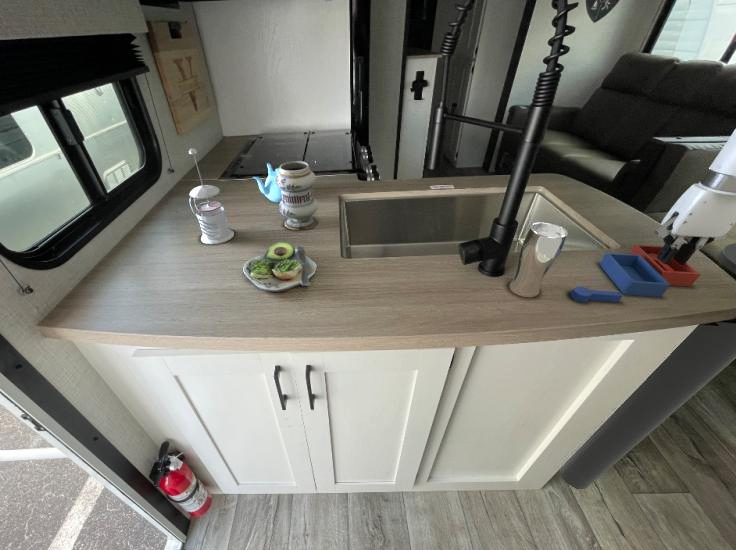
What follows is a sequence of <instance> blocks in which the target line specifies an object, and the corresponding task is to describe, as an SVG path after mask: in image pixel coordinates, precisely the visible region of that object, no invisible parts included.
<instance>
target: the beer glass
mask: <svg viewBox="0 0 736 550" xmlns="http://www.w3.org/2000/svg"><path fill="white" fill-rule="evenodd" d="M568 235H569V233H568V230H567V229H566V228H564V227H563V226H561V225H558V224H555V223H551V222H541V221H540V222H534V223H533V224H531V226H530V227H529V229H528V232H527V234H526V236H525V238H524V240H523V242H522V246H521V249H520V252H519V257H518V264H517V270H516V273H515V275H514V277H513V279H512V280H511V281H510V283H509V285H508V286H509V289H510V291H511V292H512V293H513V294H515V295H517V296H520V297H524V298H535V297H537V296H538V295H539V293H540V289H541V286H542V285H541V284H542V282H543V280H544V278H545V277H546V276H547V274H548V272H549V271H550V270H551V269H552V267H553V266H554V264H555V263H556V261H557V260H558V258H559V256H560V254H561V253H562V250H563V248H564V245H565V242H566V239H567V237H568Z"/></svg>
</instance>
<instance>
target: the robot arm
mask: <svg viewBox="0 0 736 550" xmlns="http://www.w3.org/2000/svg"><path fill="white" fill-rule="evenodd" d="M735 224H736V128H735V129H734V130H733V131H732V133H731V135H730V136H729V138H728V140H726V141H725V143H724V146H722V148H721V149H720V151H719V153H718V154H717V156H716V157H715V159H714V160H713V161H712V163H711V164H710V166H709V167H708V169H707V170H706V172H705V173H704V175H703V176H702V178H701V179H700V181H699V182H698V183H693V184H691V185H690V187H689V188H687V189H686V190H685V191H684V192H683V194H681V196H679V198H678V199H677V200H676V202H675V203H674V204H673V205H672V206H671V208H670V210H668V212H667V213H666V214H665V216H664V218H663V219H662V220H661V222H660V226H659V227H657V229H656V230H655V231H654V234H656V235H657V236H658V237H659V238H662V240H663V243H664V245H662V246H663V248H662V249H661V250H660V252H659V253H658V255H657V258H658V259H659V260H660V261H661V262H662V263H663V264H668V263H669V262H670V260H671V259H672V258H673V259H674V260H675V261H677V262H678V263H679V264H680V265H685V264H686V262H687V263H688V261H689V260H690V259H691V257H692V256H693V255H694V253H695V252H696V251H700V250H702V249H703V247H704V246H706V245H709V244H711V243H713V242H716V241H721V240H724V239H726V238H727V235H728V232H729V231H730V230H731V229H732V228H733V227H734V225H735ZM686 237H689V239H688V240H687V242H683V243H682V241H683V240H684V239H685V238H686ZM681 243H682V244H681ZM680 244H681V245H680ZM679 245H680V247H679V248H677V247H678V246H679Z"/></svg>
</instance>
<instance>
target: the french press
mask: <svg viewBox="0 0 736 550" xmlns="http://www.w3.org/2000/svg"><path fill="white" fill-rule="evenodd" d="M197 153H198V151H197V149H195V148H194V147H193V148H190V149H189V150H188V154H189V155H193V158H194V162H195V165H196V168H197V173H198V176H199V179H200V183H201V185H199V186H197V187H194V188H193V189H192V190H191V191H190V192H189V196H190V197H189V205H190V210H191V211H192V213H193V215H194V216H195V217H196V218H197V220H198V223H199V226H200V230H201V233H202V236H201V238H200V240H201V242H202V243H204V244H206V245H218V244H222V243H226V242H227V241H229V240H231V239H232V238H233V237H234V235H235V233H234V231H233V230H232V229H230V225H229V221H228V219H227V214H226V211H225V208H224V206H222V204H223V203H221V201H218V200H208V199H210V198H212V197H213V198H214V197H216V196H217V195H219V194H220V192H221V189H220V188H219V187H217V186H216V185H211V184H204V183H203V179H202V177H201V173H200V170H199V166H198V163H197V159H196V154H197ZM192 198H193V203H194V207H195V210H196V212H195V211H194V209H193V206H192V204H191V201H192ZM201 199H202V200H203V199H206V201H203V202H200V203H198V204H196V201H198V200H201Z"/></svg>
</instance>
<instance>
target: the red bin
mask: <svg viewBox="0 0 736 550" xmlns="http://www.w3.org/2000/svg"><path fill="white" fill-rule="evenodd" d="M663 246H664V245H649V244H647V245H646V244H634V245H633V247H632V248H631V250H630V252H629V253H628V254H636V255H640V256H641V257H642V258H643V259H644V260H645V261H646V262H647V263H649V264H650V265H651V266H652V267H653V268H654V269H655V270H656V271H657V272H658V273H659V274H660V275H661V276H662V277H663V278H664V279H665V280H666V281H667V282H668V283H669V284H670V286H677V287H692V286H693V285H694V283H695V282H696V281H697V279H698V278H699V277H700V276H701V275H702V274H701V273H700V272H699V271H698V270H696V269H695V268H694V267H693V266H692V265H691V264H690V263H688V261H687V262H686V264H685V265H680V264H679V263H678V262H677V261H675V260H674V259H673V258H672V259H671V260H670V262H669V263H668V264H667V265H669V266H670V267H671V268H672V269H673V270H674V271H665V270H664V269H663V268H662V267H660V266H659V265H658V264H657V263H656V262H655V261H654V260H653V259H652V258H651V257H650V256H649V255H648V254H651V253H652V254H658V253H659V252H660V250H661V249H662V248H663Z"/></svg>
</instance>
